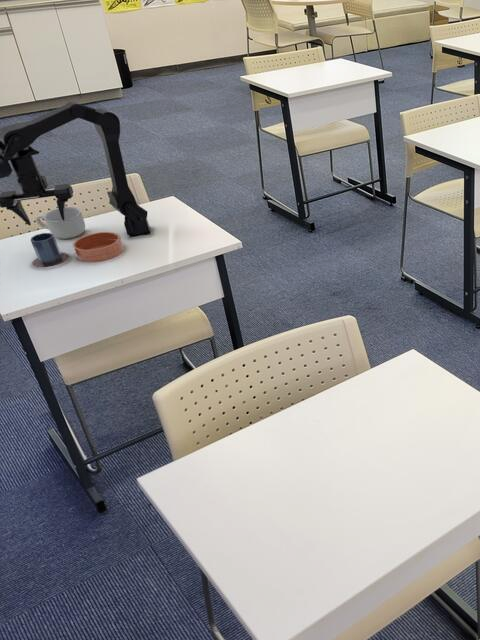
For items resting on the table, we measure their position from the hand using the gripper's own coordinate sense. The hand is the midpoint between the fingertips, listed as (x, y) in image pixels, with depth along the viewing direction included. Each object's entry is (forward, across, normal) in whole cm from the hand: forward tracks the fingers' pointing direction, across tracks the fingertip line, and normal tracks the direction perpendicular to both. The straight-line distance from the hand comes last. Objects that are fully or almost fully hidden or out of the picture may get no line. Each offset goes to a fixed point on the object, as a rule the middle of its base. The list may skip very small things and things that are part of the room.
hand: (47, 222), depth 208 cm
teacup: (+12, 0, -17) cm, 21 cm away
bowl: (+12, -12, +2) cm, 17 cm away
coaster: (+12, +2, +2) cm, 12 cm away
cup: (+11, +2, +2) cm, 11 cm away
